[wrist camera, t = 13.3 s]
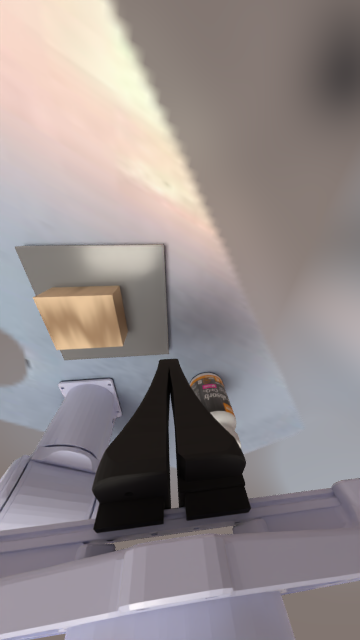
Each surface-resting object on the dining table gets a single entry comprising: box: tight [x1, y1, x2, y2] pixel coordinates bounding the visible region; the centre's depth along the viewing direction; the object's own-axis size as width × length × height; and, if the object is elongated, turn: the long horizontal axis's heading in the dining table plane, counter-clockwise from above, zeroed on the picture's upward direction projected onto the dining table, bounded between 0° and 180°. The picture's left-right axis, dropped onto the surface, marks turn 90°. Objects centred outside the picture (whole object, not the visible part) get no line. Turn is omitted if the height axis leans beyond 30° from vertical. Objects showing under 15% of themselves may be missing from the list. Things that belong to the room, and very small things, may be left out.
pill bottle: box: [190, 373, 241, 448], centre depth 24 cm, size 6×6×10 cm
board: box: [15, 244, 169, 360], centre depth 20 cm, size 14×14×1 cm
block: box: [33, 286, 128, 350], centre depth 18 cm, size 6×3×7 cm
